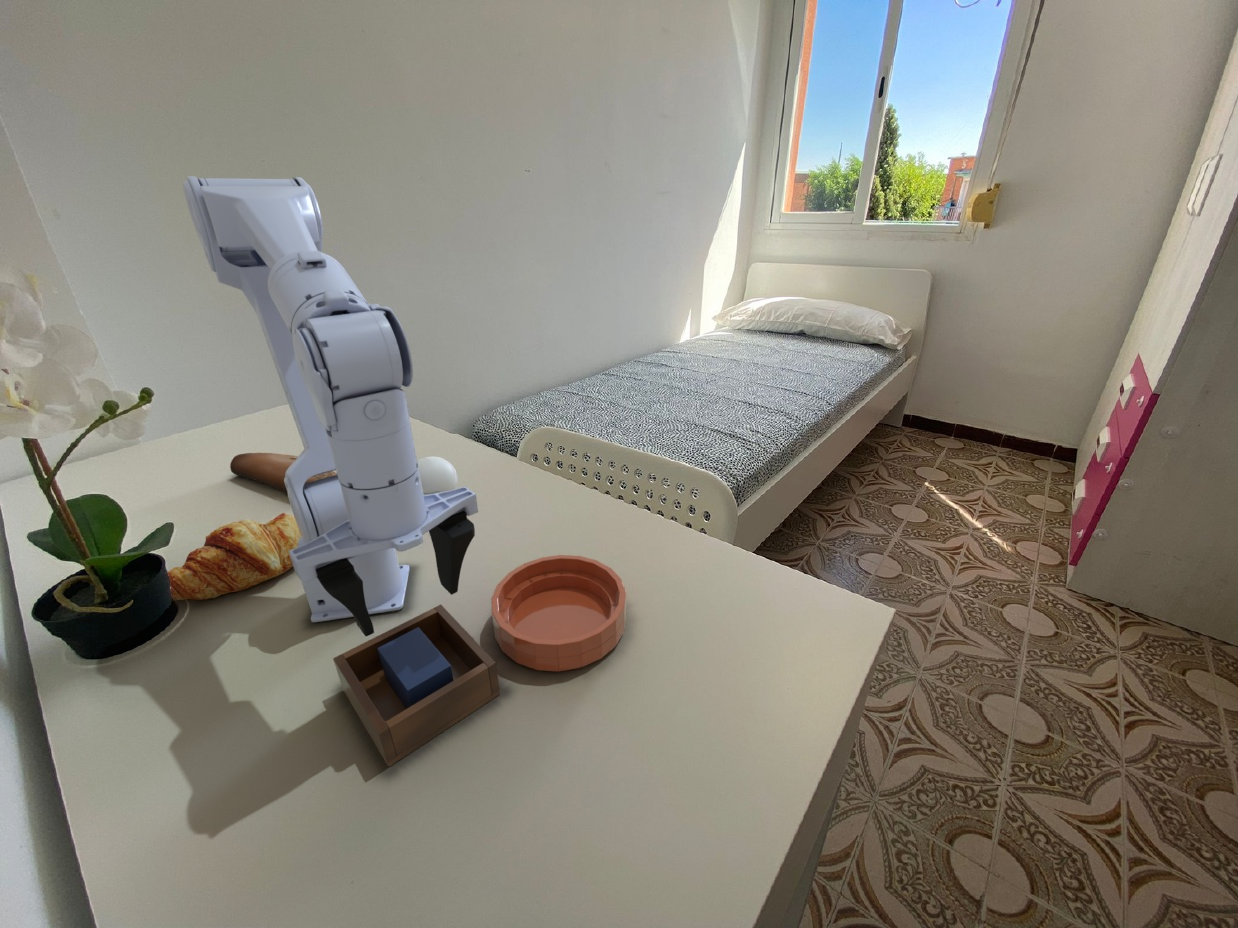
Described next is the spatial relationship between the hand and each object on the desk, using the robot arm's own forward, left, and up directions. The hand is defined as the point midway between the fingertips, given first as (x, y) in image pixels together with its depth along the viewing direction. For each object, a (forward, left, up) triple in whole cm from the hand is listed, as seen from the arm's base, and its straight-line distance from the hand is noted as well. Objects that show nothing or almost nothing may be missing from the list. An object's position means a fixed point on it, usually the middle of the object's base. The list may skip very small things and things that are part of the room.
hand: (409, 607), depth 48 cm
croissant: (-21, +23, -9) cm, 33 cm away
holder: (0, -1, -9) cm, 9 cm away
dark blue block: (0, -1, -9) cm, 9 cm away
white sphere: (-2, +34, -9) cm, 35 cm away
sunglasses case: (-25, +47, -9) cm, 54 cm away
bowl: (+14, +5, -9) cm, 17 cm away
